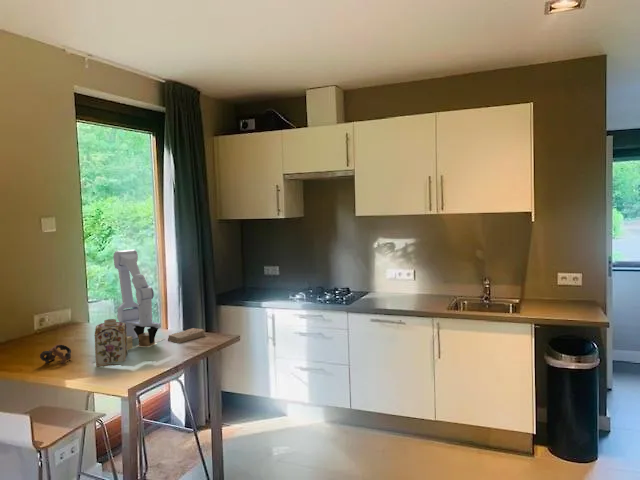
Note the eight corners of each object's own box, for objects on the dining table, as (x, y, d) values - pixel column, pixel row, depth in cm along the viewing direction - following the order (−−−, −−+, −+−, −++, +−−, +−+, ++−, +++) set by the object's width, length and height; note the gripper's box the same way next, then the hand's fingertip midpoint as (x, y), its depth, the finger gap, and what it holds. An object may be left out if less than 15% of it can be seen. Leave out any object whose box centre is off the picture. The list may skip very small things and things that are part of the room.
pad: (143, 342, 243) (143, 341, 243) (153, 338, 250) (153, 337, 250) (156, 343, 241) (156, 342, 241) (165, 339, 248) (165, 338, 248)
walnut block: (138, 345, 236) (138, 335, 236) (145, 342, 241) (145, 332, 241) (148, 346, 235) (147, 335, 234) (154, 343, 239) (154, 332, 239)
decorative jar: (95, 367, 210) (93, 324, 209) (99, 359, 221) (97, 318, 220) (126, 364, 213) (124, 321, 212) (128, 356, 225) (126, 315, 223)
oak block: (116, 349, 230) (115, 338, 230) (123, 346, 235) (123, 335, 235) (125, 350, 229) (124, 339, 229) (132, 347, 234) (132, 336, 233)
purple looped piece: (59, 358, 225) (67, 342, 224) (68, 371, 220) (77, 355, 219) (32, 358, 215) (40, 342, 214) (42, 372, 210) (50, 355, 209)
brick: (178, 346, 240) (178, 336, 239) (167, 344, 245) (166, 334, 244) (205, 339, 253) (205, 329, 253) (194, 336, 258) (193, 327, 258)
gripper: (126, 314, 235) (127, 343, 236) (153, 316, 231) (154, 345, 232) (136, 311, 242) (137, 339, 243) (163, 312, 238) (164, 341, 239)
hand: (146, 342), depth 238 cm, fingers closed on walnut block, 5 cm apart
